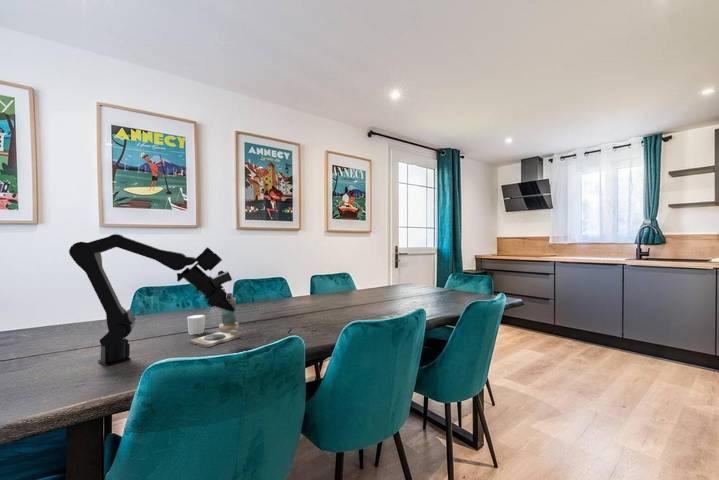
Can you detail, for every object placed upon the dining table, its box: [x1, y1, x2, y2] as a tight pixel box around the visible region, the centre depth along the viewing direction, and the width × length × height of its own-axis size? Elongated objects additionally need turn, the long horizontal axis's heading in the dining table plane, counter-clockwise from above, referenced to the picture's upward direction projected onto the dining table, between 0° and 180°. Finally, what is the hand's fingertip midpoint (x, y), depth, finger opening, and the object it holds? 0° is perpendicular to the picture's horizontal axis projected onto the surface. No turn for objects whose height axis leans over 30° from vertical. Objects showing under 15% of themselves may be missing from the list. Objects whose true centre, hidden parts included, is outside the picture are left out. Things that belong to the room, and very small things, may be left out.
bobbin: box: [218, 292, 240, 331], centre depth 116 cm, size 7×7×12 cm
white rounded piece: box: [186, 314, 206, 336], centre depth 132 cm, size 7×7×7 cm
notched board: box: [189, 329, 239, 348], centre depth 123 cm, size 14×10×2 cm
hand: (233, 309), depth 116 cm, fingers closed on bobbin, 5 cm apart
